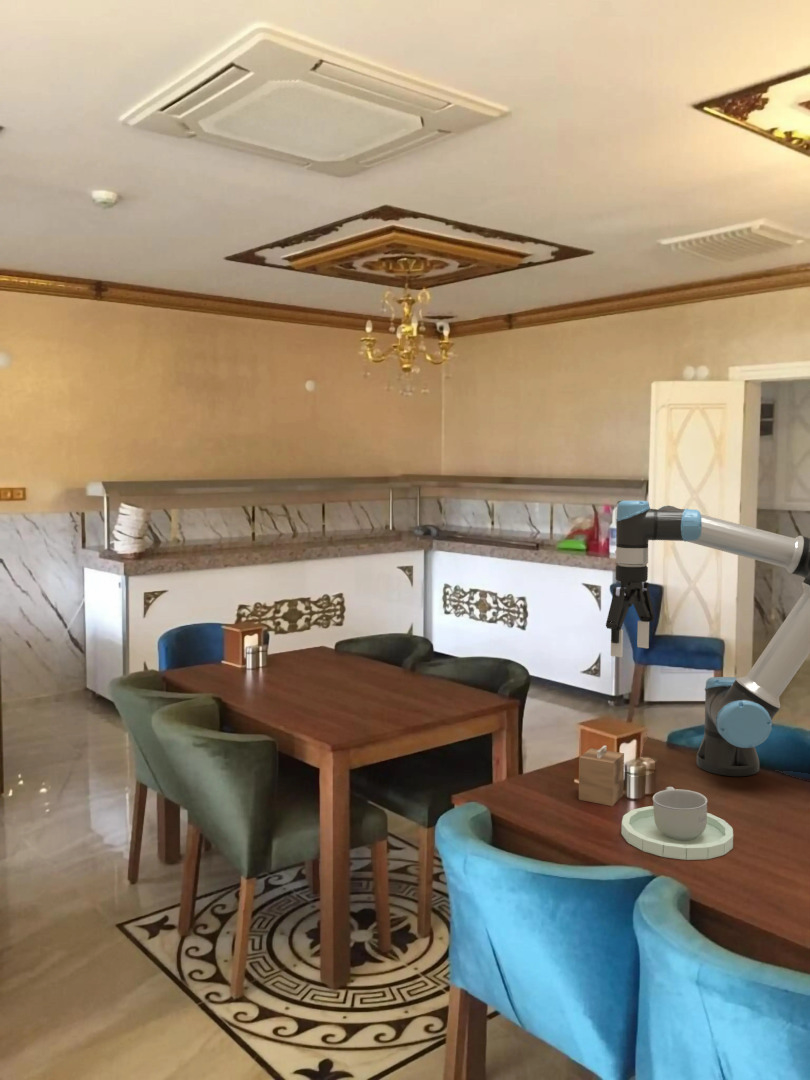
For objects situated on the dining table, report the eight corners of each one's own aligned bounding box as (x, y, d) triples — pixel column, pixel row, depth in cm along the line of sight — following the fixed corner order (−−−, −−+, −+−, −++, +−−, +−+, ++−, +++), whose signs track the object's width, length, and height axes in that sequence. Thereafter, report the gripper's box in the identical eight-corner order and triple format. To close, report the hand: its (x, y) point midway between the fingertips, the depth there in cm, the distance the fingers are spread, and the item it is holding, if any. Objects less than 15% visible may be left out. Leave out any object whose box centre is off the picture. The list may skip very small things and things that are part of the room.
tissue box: (590, 788, 219) (591, 741, 218) (623, 795, 215) (624, 746, 214) (578, 799, 212) (579, 750, 211) (612, 806, 208) (613, 756, 207)
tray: (651, 808, 207) (651, 798, 206) (749, 834, 192) (749, 823, 192) (602, 839, 190) (603, 827, 190) (706, 869, 176) (706, 857, 176)
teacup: (709, 847, 184) (710, 808, 183) (653, 843, 186) (654, 804, 185) (701, 820, 198) (702, 784, 197) (649, 817, 200) (649, 781, 199)
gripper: (641, 559, 233) (639, 642, 235) (591, 568, 214) (590, 658, 216) (669, 561, 228) (667, 645, 230) (621, 570, 209) (619, 662, 211)
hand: (630, 652), depth 223 cm, fingers open, 13 cm apart
